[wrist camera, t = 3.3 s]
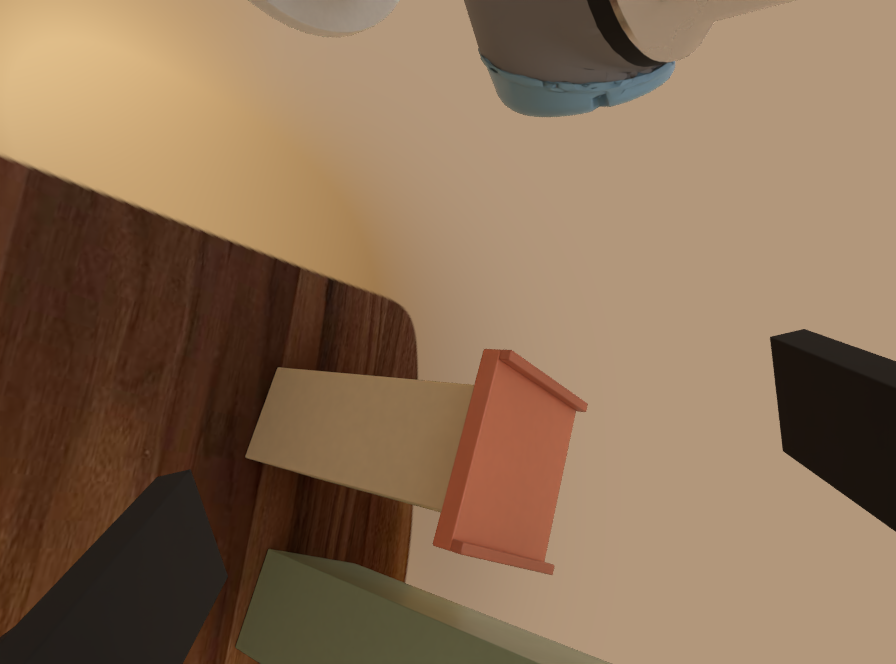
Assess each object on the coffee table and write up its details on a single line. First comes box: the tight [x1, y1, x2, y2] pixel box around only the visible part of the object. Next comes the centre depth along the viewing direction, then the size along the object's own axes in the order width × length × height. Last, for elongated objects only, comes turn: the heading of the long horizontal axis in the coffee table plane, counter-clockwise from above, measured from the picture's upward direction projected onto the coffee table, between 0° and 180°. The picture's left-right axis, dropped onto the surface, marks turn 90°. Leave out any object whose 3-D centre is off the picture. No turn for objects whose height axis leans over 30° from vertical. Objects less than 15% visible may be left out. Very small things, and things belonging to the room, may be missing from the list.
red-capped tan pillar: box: [245, 349, 588, 575], centre depth 35 cm, size 9×8×19 cm
